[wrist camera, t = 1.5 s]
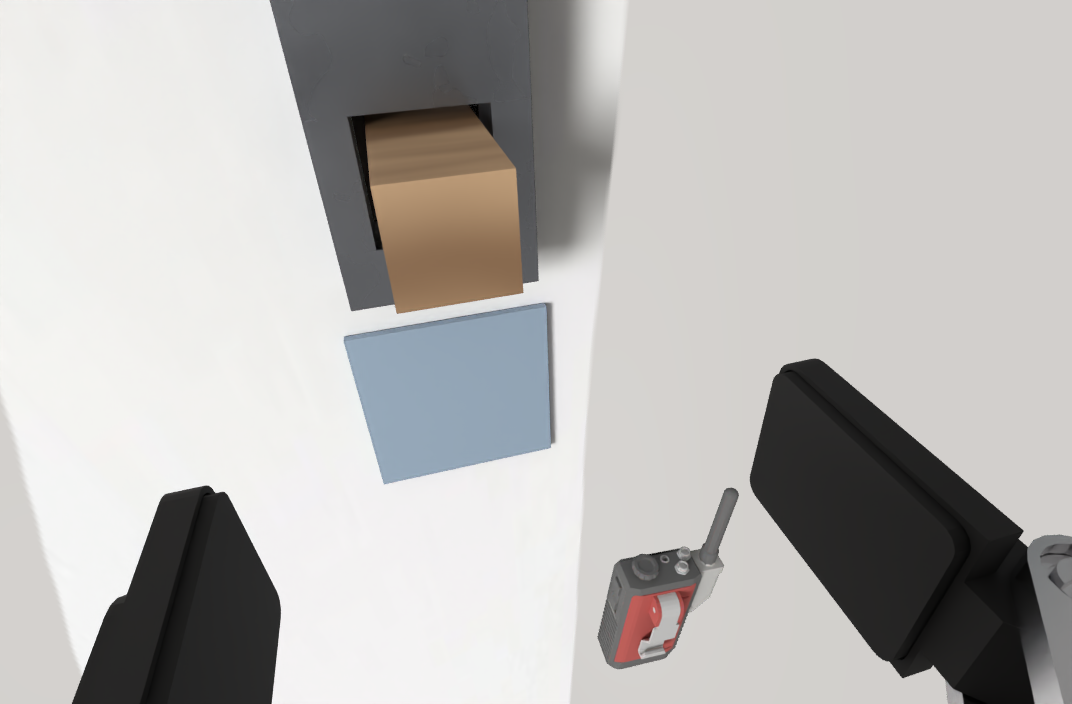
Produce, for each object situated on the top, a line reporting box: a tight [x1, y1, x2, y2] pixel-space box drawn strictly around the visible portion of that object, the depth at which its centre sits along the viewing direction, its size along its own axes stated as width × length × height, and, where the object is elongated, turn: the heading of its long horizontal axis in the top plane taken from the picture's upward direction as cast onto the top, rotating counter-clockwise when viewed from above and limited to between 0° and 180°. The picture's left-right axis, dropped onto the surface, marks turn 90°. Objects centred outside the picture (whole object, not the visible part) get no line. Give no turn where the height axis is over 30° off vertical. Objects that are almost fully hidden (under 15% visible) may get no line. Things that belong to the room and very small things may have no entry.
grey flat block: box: [270, 0, 539, 311], centre depth 21 cm, size 18×8×3 cm, turn 2°
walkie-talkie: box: [597, 488, 739, 669], centre depth 46 cm, size 9×4×20 cm
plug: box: [364, 105, 523, 314], centre depth 21 cm, size 4×4×9 cm
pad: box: [344, 303, 551, 484], centre depth 31 cm, size 10×10×1 cm
